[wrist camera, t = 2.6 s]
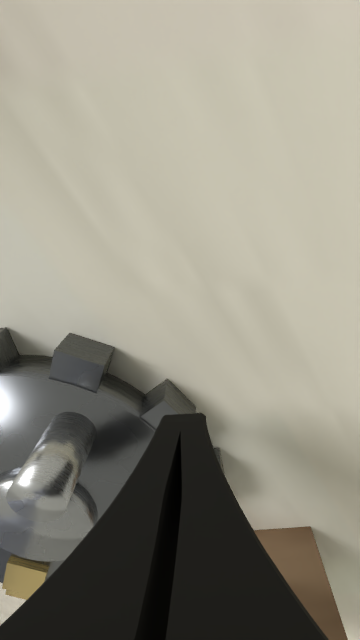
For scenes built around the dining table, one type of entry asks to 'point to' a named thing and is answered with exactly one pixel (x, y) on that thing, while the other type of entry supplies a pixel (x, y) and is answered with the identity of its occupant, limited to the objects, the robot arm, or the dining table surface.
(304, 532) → the walnut block
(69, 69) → the dining table surface
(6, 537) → the sprocket
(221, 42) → the dining table surface
